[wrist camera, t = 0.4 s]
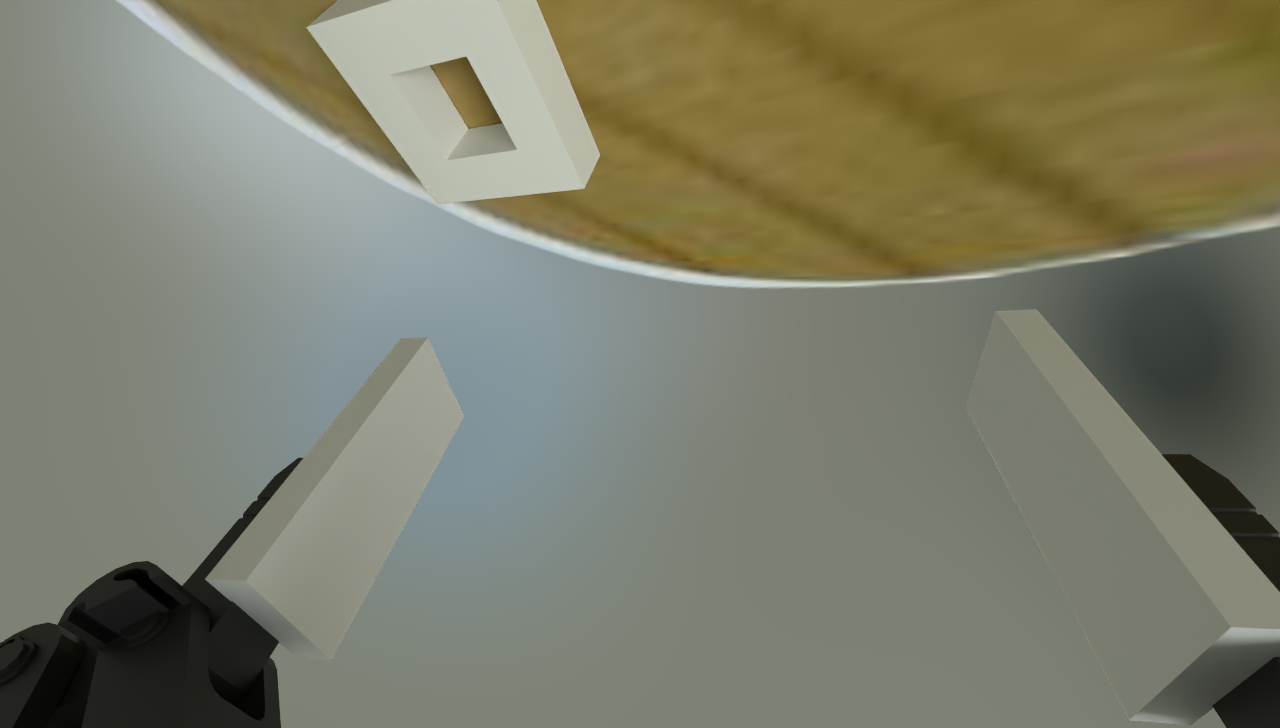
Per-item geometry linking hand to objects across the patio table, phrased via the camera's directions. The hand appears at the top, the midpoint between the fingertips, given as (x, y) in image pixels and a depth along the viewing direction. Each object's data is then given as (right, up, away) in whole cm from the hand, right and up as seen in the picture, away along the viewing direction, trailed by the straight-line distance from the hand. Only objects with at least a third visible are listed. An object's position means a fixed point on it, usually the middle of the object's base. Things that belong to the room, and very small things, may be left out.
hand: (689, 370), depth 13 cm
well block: (-13, +21, +25) cm, 35 cm away
